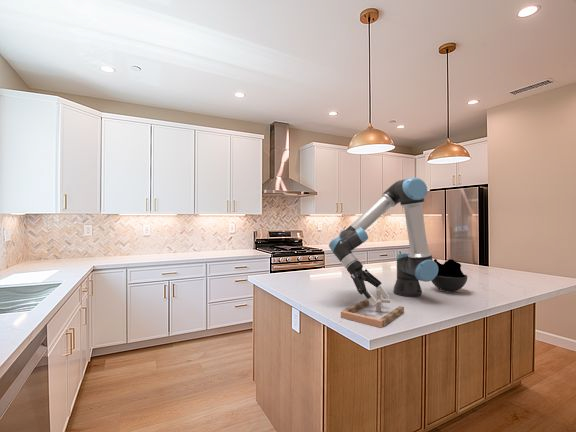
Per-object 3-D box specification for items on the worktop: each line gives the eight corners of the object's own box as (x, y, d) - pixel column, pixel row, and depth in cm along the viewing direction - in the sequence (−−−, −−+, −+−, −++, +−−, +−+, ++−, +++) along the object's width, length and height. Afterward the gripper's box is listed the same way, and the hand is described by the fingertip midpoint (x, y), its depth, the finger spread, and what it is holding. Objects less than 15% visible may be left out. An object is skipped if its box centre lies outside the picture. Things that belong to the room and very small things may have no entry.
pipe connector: (391, 315, 130) (391, 293, 130) (368, 313, 132) (368, 291, 132) (388, 308, 140) (388, 287, 140) (366, 307, 142) (366, 286, 142)
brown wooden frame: (365, 304, 147) (365, 299, 147) (403, 312, 135) (403, 307, 135) (342, 316, 130) (342, 310, 130) (384, 326, 117) (384, 320, 117)
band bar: (343, 316, 129) (343, 310, 129) (382, 326, 118) (382, 320, 118) (340, 317, 128) (340, 311, 128) (380, 327, 116) (380, 321, 116)
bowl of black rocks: (471, 291, 174) (471, 259, 174) (461, 297, 160) (461, 263, 160) (435, 285, 189) (436, 256, 189) (423, 291, 174) (423, 259, 175)
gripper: (358, 266, 156) (386, 299, 146) (334, 272, 137) (363, 311, 127) (368, 257, 153) (397, 290, 143) (344, 262, 134) (375, 302, 124)
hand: (381, 300), depth 135 cm, fingers open, 13 cm apart
